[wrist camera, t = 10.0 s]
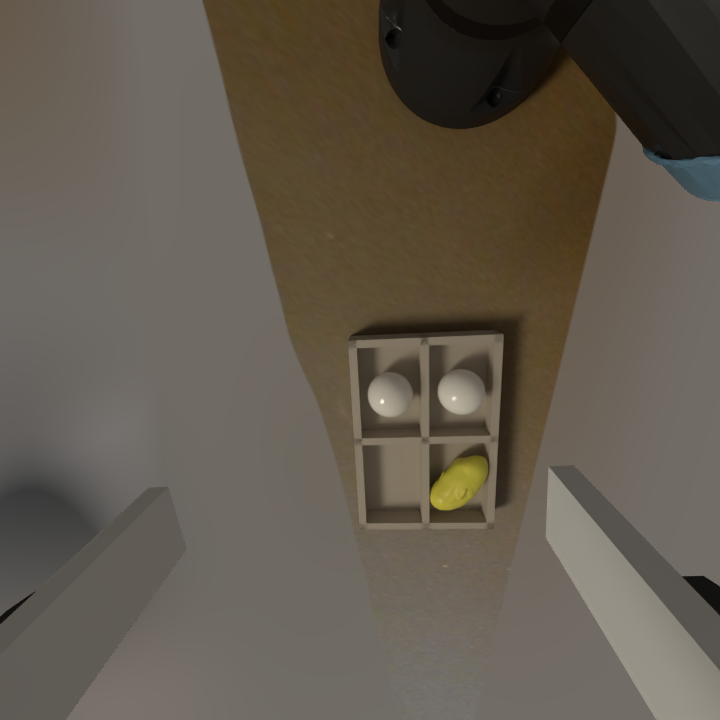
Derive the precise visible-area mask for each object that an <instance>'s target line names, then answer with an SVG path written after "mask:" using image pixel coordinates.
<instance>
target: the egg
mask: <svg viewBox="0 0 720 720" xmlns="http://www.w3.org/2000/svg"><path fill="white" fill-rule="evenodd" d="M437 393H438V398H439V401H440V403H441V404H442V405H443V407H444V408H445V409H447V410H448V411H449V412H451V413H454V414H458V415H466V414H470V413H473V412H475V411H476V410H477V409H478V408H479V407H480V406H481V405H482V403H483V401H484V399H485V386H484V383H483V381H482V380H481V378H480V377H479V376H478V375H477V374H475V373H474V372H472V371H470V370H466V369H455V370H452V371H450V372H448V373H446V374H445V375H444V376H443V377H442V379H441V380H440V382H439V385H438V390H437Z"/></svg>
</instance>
